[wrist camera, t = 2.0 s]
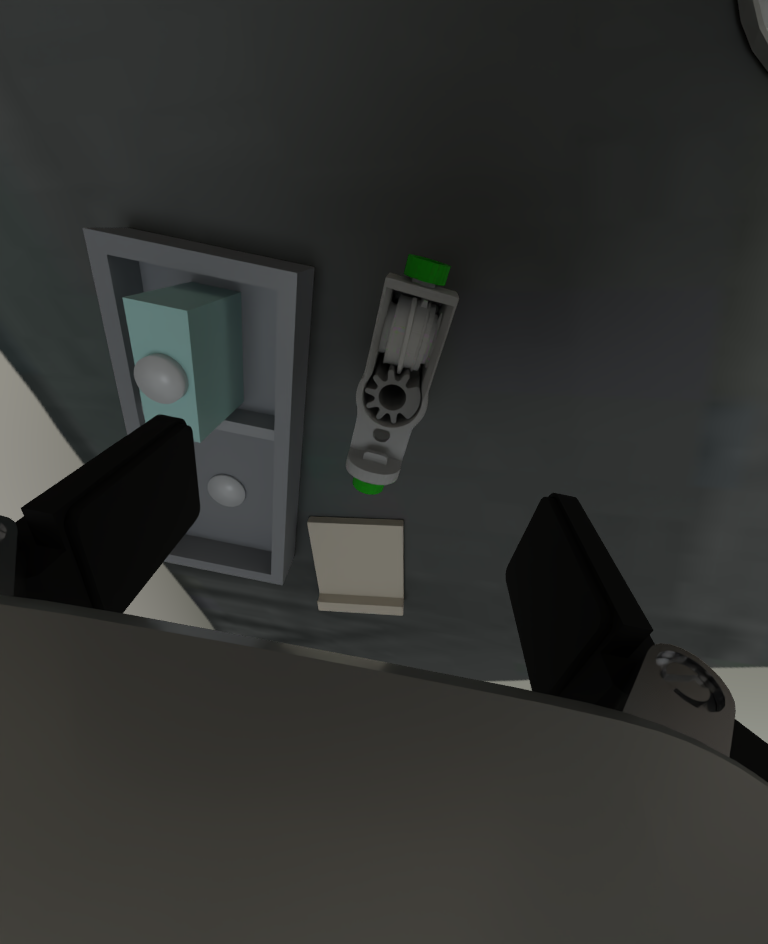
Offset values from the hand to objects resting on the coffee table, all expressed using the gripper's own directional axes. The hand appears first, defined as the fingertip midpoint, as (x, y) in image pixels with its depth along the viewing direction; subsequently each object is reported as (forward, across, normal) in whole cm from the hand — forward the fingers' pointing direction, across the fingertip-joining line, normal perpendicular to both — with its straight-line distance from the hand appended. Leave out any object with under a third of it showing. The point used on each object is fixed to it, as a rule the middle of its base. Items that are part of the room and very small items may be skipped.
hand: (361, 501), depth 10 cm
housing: (+17, +11, +8) cm, 22 cm away
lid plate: (+17, 0, +20) cm, 26 cm away
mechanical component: (+17, 0, 0) cm, 17 cm away
